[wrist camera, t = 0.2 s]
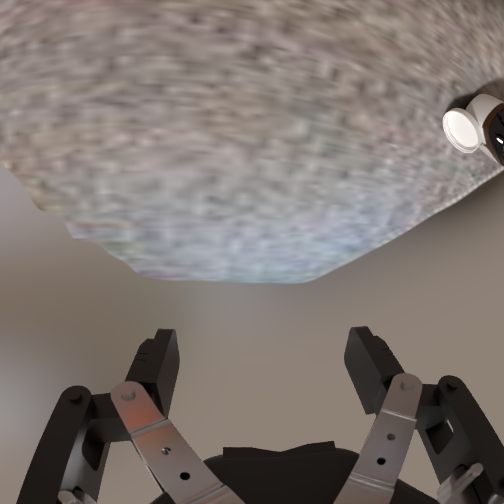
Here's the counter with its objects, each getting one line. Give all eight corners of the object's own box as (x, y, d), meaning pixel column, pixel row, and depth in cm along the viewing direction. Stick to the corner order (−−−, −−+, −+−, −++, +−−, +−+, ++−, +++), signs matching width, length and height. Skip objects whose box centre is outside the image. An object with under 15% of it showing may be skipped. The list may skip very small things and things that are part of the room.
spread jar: (499, 126, 33) (544, 156, 25) (463, 166, 39) (504, 203, 30) (470, 73, 29) (522, 94, 20) (430, 117, 34) (477, 148, 26)
